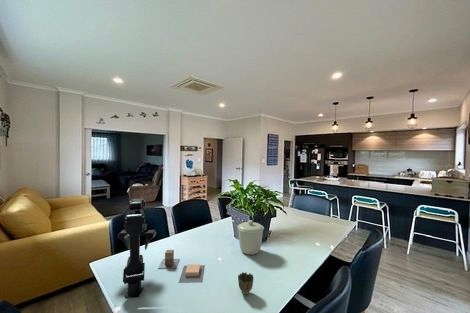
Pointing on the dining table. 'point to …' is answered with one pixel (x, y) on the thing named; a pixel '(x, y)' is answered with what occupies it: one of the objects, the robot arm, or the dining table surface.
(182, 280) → the rubber mat
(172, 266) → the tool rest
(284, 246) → the dining table surface
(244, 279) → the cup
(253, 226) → the canister
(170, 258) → the walnut block
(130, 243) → the robot arm
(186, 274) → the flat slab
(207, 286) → the dining table surface
